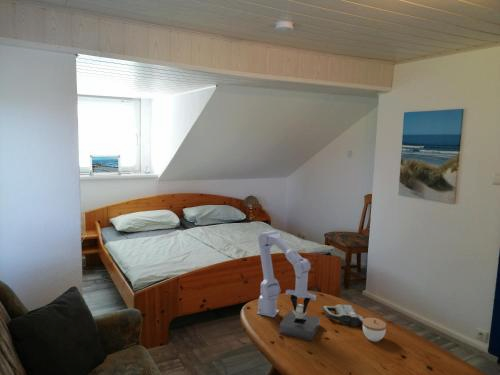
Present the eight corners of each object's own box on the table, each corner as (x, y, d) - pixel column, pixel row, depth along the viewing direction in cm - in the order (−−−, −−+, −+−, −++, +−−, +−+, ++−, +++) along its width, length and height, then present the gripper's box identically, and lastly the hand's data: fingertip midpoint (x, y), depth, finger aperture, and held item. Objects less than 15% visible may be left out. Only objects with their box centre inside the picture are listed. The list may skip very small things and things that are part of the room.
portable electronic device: (347, 309, 208) (348, 300, 208) (368, 328, 189) (369, 318, 188) (320, 312, 204) (321, 303, 203) (339, 331, 185) (339, 321, 184)
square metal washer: (279, 332, 181) (279, 324, 181) (288, 318, 196) (289, 310, 195) (311, 340, 175) (312, 332, 175) (319, 325, 190) (319, 317, 189)
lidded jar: (357, 333, 183) (358, 315, 182) (376, 331, 186) (378, 313, 184) (369, 345, 173) (370, 326, 171) (389, 343, 175) (391, 324, 174)
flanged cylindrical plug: (290, 318, 183) (291, 307, 182) (295, 312, 189) (295, 301, 188) (304, 321, 180) (304, 310, 179) (307, 315, 186) (308, 304, 185)
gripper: (284, 284, 181) (283, 311, 183) (314, 290, 176) (312, 317, 177) (288, 279, 188) (287, 305, 189) (317, 285, 182) (316, 311, 184)
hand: (299, 311), depth 184 cm, fingers closed on flanged cylindrical plug, 4 cm apart
